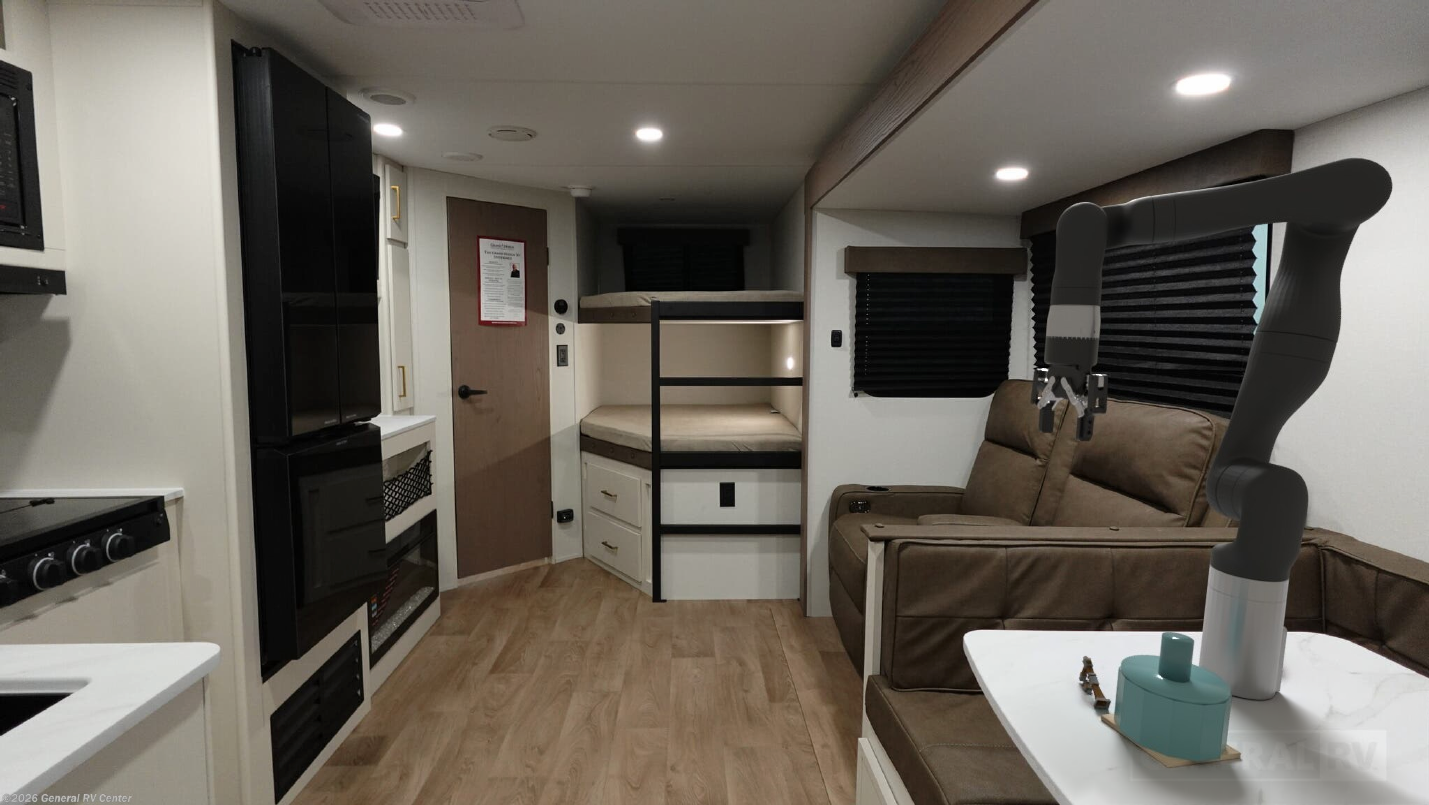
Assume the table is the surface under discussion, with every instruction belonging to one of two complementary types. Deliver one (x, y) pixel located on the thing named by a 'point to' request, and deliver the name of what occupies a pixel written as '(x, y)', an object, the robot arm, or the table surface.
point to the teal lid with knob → (1173, 702)
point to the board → (1171, 761)
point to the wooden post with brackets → (1093, 684)
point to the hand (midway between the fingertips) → (1063, 436)
